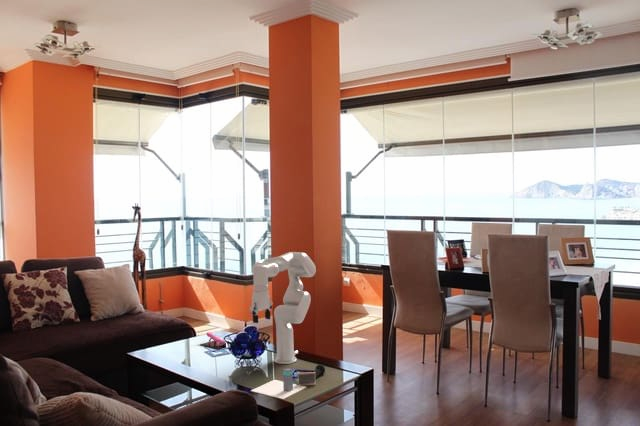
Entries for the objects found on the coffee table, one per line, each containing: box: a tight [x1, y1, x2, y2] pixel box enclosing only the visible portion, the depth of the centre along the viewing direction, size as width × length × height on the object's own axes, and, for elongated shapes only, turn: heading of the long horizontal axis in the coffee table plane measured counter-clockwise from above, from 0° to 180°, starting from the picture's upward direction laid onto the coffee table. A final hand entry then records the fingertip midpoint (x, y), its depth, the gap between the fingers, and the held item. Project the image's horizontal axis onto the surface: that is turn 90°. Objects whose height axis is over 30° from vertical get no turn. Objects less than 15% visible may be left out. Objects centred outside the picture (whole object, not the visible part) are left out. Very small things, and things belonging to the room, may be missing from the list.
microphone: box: [313, 364, 326, 378], centre depth 282 cm, size 5×5×19 cm
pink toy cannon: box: [199, 331, 226, 351], centre depth 348 cm, size 15×20×7 cm
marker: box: [282, 367, 294, 392], centre depth 264 cm, size 3×3×10 cm
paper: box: [250, 379, 307, 400], centre depth 267 cm, size 18×20×1 cm
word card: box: [296, 371, 317, 386], centre depth 272 cm, size 1×9×6 cm, turn 95°
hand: (261, 320), depth 288 cm, fingers open, 9 cm apart
